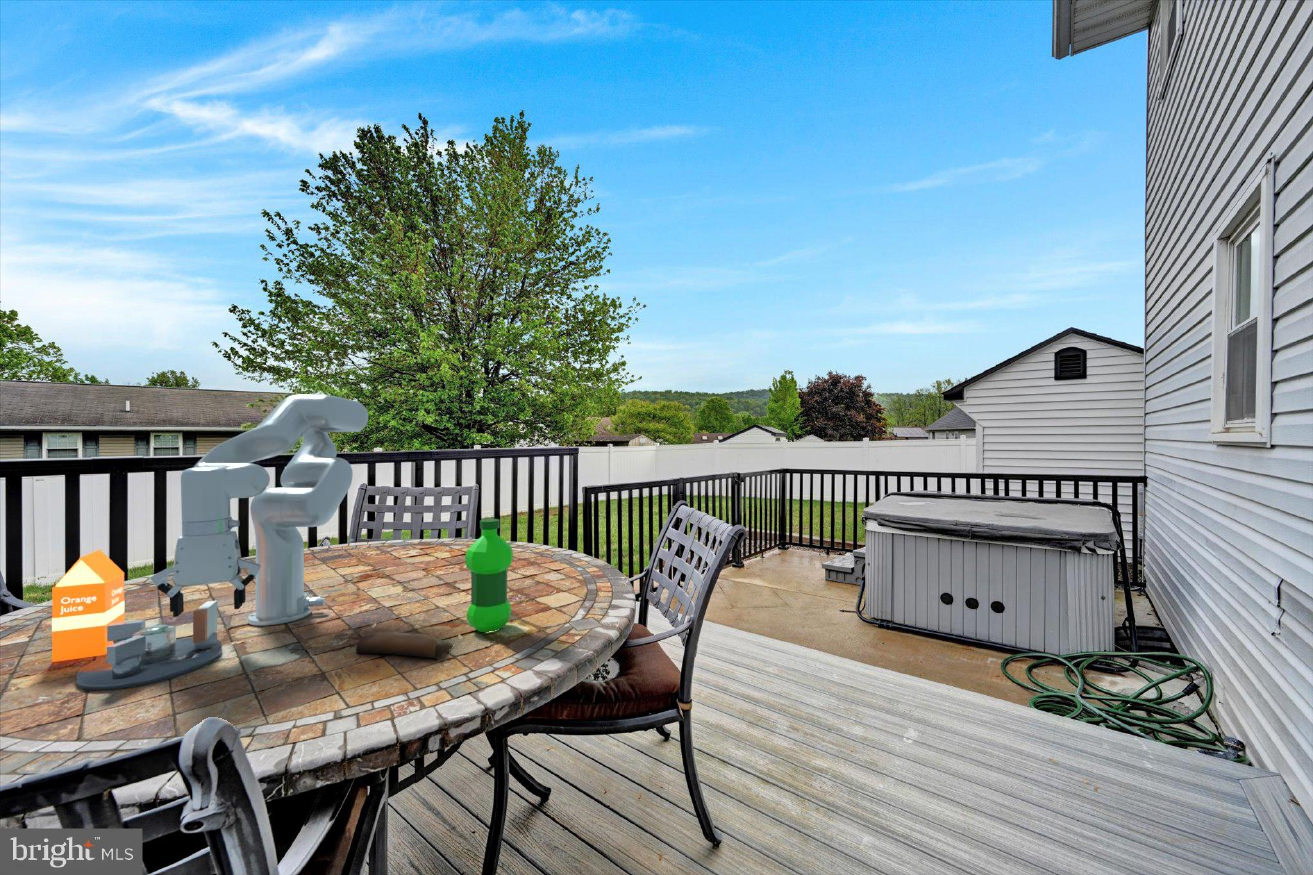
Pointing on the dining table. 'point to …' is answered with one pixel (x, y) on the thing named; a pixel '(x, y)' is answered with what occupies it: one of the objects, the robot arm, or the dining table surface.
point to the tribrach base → (149, 671)
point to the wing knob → (205, 625)
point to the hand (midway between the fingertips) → (209, 610)
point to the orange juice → (86, 607)
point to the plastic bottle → (489, 579)
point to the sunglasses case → (403, 644)
